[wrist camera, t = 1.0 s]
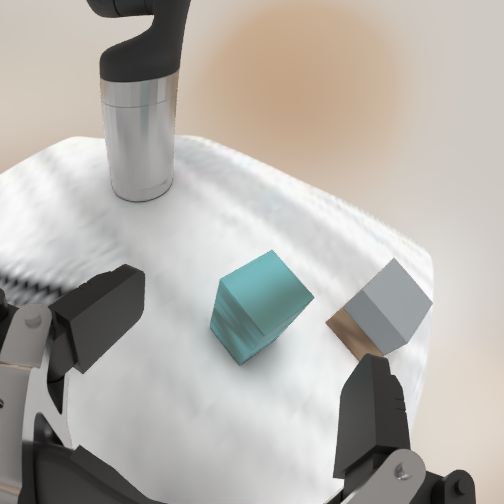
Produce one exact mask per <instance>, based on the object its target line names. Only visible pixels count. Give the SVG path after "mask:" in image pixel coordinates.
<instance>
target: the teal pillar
mask: <svg viewBox="0 0 504 504" xmlns="http://www.w3.org/2000/svg"><path fill="white" fill-rule="evenodd" d="M313 299H314V296H313V295H312V294H311V293H310V292H309V290H308V289H307V288H306V287H305V286H304V285H303V284H302V283H301V281H300V280H299V279H298V278H297V277H296V276H295V275H294V274H293V272H292V271H291V270H290V269H289V268H288V267H287V266H286V265H285V263H284V262H283V261H282V260H281V259H280V258H279V257H278V256H277V255H276V253H275V252H274V251H273V250H271V251H269V252H267V253H265V254H264V255H262V256H260V257H258V258H257V259H255V260H253V261H251V262H250V263H248V264H246V265H244V266H242V267H241V268H239V269H237V270H235V271H234V272H232V273H230V274H228V275H226V276H225V277H223V278H221V279H220V282H219V286H218V291H217V295H216V300H215V305H214V309H213V314H212V318H211V323H210V328H211V329H212V330H213V332H214V333H215V334H216V336H217V337H218V338H219V340H220V341H221V342H222V344H223V345H224V346H225V348H226V349H227V350H228V352H229V353H230V354H231V355H232V357H233V358H234V359H235V361H236V362H237V363H238V364H239V366H240V365H241V364H242V363H244V362H245V361H247V360H248V359H249V358H251V357H252V356H254V355H255V354H256V353H258V352H259V351H260V350H262V349H263V348H265V347H266V346H267V345H269V344H270V343H271V342H273V341H274V340H275V339H277V338H278V337H279V336H280V334H281V333H282V332H283V331H284V330H285V329H286V328H287V327H288V326H289V325H290V324H291V323H292V322H293V321H294V320H295V318H296V317H297V316H298V315H299V314H300V313H301V312H302V311H303V310H304V309H305V307H306V306H307V305H308V304H309V303H310V302H311V301H312V300H313Z"/></svg>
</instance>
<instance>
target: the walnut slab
mask: <svg viewBox="0 0 504 504" xmlns="http://www.w3.org/2000/svg"><path fill="white" fill-rule="evenodd" d="M363 288H364V287H363ZM363 288H362V289H363ZM362 289H361V290H362ZM361 290H360V291H361ZM360 291H359V292H360ZM359 292H358V293H359ZM358 293H357V294H358ZM357 294H356V295H357ZM356 295H355V296H356ZM355 296H354V297H355ZM354 297H353V298H354ZM353 298H352V299H353ZM352 299H351V300H352ZM345 305H346V304H345ZM345 305H344V306H345ZM344 306H343V307H344ZM343 307H342V308H341V309H340V310H339V311H338V312H337V313H336V314H335V315H333V316H332V317H331V318H330V319H329V320H328V321H327V322H326V324H327V325H328V326H329V327H330V328H331V329H332V331H333V332H334V333H335V334H336V335H337V336H338V338H339V339H340V340H341V341H342V342H343V343H344V345H345V346H346V347H347V348H348V349H349V350H350V352H351V353H352V354H353V355H354V356H355V357H356V359H357V360H358V361H359V362H360V360H361V359H362V357H363V356H364V355H365V354H366V353H370V354H373V355H377V356H381V357H383V356H384V355H383V354H382V353H381V352H380V351H379V349H378V348H377V347H376V346H375V345H374V343H373V342H372V341H371V340H370V339H369V338H368V336H367V335H366V334H365V333H364V332H363V330H362V329H361V328H360V327H359V326H358V325H357V323H356V322H355V321H354V320H353V319H352V318H351V316H350V315H349V314H348V313H347V312H346V311H345V310H344V308H343Z"/></svg>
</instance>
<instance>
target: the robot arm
mask: <svg viewBox="0 0 504 504" xmlns="http://www.w3.org/2000/svg"><path fill="white" fill-rule="evenodd" d="M87 2H88V4H89V6H90V7H91V9H92V10H93V11H94V12H95V13H96V14H97V15H99V16H101V17H107V18H118V17H128V16H140V15H154V19H153V23H152V25H151V27H150V28H149V29H148V30H146V31H145V32H143V33H142V34H140V35H138V36H136V37H134V38H132V39H129V40H127V41H124V42H122V43H119V44H116V45H115V46H112V47H110V48H108V49H107V50H106V51H104V52H103V53H102V55H101V58H100V88H101V102H102V114H103V124H104V133H105V142H106V149H107V156H108V163H109V169H110V175H111V181H112V186H113V190H114V192H115V193H116V194H117V195H118V196H119V197H121V198H123V199H126V200H129V201H147V200H151V199H154V198H156V197H158V196H160V195H162V194H163V193H165V192H166V191H167V190H168V189H169V188H170V186H171V184H172V180H173V155H174V131H175V115H176V101H177V88H178V78H179V68H180V59H181V51H182V43H183V36H184V30H185V24H186V19H187V14H188V9H189V6H190V2H191V0H87ZM144 294H145V274H144V272H143V271H141V270H139V269H136V268H134V267H132V266H130V265H127V264H124V265H122V266H120V267H119V268H117V269H115V270H114V271H112V272H111V271H109V272H106V273H102V274H98V275H96V276H95V277H93V278H91V279H90V280H88V281H87V283H83V284H82V285H80V286H79V288H76V289H74V290H73V291H71V292H70V293H68V294H67V295H65V296H64V297H62V298H61V299H59V300H58V301H56V302H55V303H53V304H52V305H50V306H49V307H46V306H44V305H42V304H37V303H33V304H27V305H25V306H23V307H21V308H17V307H15V306H12V305H10V304H8V303H7V301H6V298H5V294H4V291H3V290H2V289H1V288H0V504H166V503H162V502H158V501H154V500H151V499H149V498H147V497H146V496H144V495H143V494H142V493H141V492H140V491H138V490H137V489H136V488H135V487H134V486H133V485H131V484H130V483H129V482H128V481H127V480H126V479H125V478H124V477H123V476H121V475H120V474H119V473H118V472H117V471H116V470H115V469H114V468H113V467H111V466H110V465H108V464H107V463H105V462H103V461H102V460H100V459H99V458H97V457H96V456H95V455H93V454H92V453H90V452H89V451H87V450H86V449H85V448H83V447H82V446H81V445H79V446H78V447H77V449H76V450H73V449H72V441H71V436H70V431H69V428H68V424H67V399H68V382H69V373H68V371H69V370H70V369H71V368H72V367H74V368H75V369H77V370H78V371H79V372H81V373H82V374H84V373H85V372H86V371H87V370H88V369H89V368H90V367H91V366H92V365H93V364H94V363H95V362H96V361H97V360H98V359H99V358H100V357H101V356H102V355H103V354H104V353H105V352H106V351H107V350H108V349H109V348H110V347H111V346H112V345H113V344H114V343H115V342H117V341H118V340H119V339H120V338H121V337H122V336H123V335H124V334H125V333H126V332H127V331H128V330H129V329H130V328H131V327H132V326H133V325H134V324H135V323H136V322H137V321H138V320H139V319H140V317H141V315H142V313H143V310H144ZM405 410H406V408H405V402H404V395H403V389H402V386H401V385H400V383H399V381H398V379H397V378H396V376H395V375H391V373H390V367H389V361H388V359H387V358H384V357H381V356H377V355H373V354H370V353H366V354H365V355H364V356H363V357H362V359H361V360H360V362H359V363H358V365H357V366H356V368H355V369H354V371H353V372H352V374H351V375H350V377H349V378H348V380H347V381H346V383H345V384H344V386H343V389H342V392H341V396H340V408H339V423H338V435H337V446H336V455H335V464H334V472H333V478H338V479H345V480H344V486H343V487H342V488H341V489H339V490H338V491H337V492H336V493H335V494H334V495H333V496H331V497H330V498H329V499H328V500H327V501H326V502H325V503H323V504H476V498H475V485H474V481H473V479H472V477H471V476H470V475H469V474H468V473H467V472H466V471H464V470H455V471H453V472H452V473H450V474H449V475H447V476H446V477H442V476H440V475H437V474H434V473H431V472H428V471H426V469H425V464H424V462H423V460H422V459H421V457H420V456H419V455H418V454H417V453H415V452H413V451H411V449H410V439H409V430H408V422H407V414H406V412H405Z"/></svg>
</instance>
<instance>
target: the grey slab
mask: <svg viewBox="0 0 504 504" xmlns="http://www.w3.org/2000/svg"><path fill="white" fill-rule="evenodd" d="M432 304H433V303H432V301H431V300H430V299H429V298H428V297H427V295H426V294H425V293H424V292H423V290H422V289H421V288H420V287H419V286H418V285H417V283H416V282H415V281H414V280H413V279H412V277H411V276H410V275H409V274H408V273H407V272H406V271H405V269H404V268H403V267H402V266H401V265H400V264H399V263H398V262H397V260H396V259H395V258H393V259H392V260H391V261H390V262H389V263H388V264H387V265H386V266H385V267H384V268H383V269H382V270H381V271H380V272H379V273H378V274H377V275H376V276H375V277H374V278H373V279H372V280H371V281H370V282H369V283H368V284H367V285H366V286H365V287H364V288H363V289H362V290H361V291H360V292H359V293H358V294H357V295H356V296H355V297H354V298H353V299H352V300H350V301H349V302H348V303H347V304H346V305H345V306H344V307H343V308H344V310H345V311H346V312H347V313H348V314H349V315H350V316H351V318H352V319H353V320H354V321H355V322H356V323H357V325H358V326H359V327H360V328H361V329H362V330H363V332H364V333H365V334H366V335H367V336H368V338H369V339H370V340H371V341H372V342H373V343H374V345H375V346H376V347H377V348H378V349H379V351H380V352H381V353H382V354H383V355H386V354H388V353H390V352H392V351H394V350H396V349H398V348H399V347H401V346H403V345H405V344H407V343H408V342H409V340H410V339H411V337H412V336H413V334H414V333H415V331H416V330H417V328H418V327H419V325H420V324H421V322H422V320H423V319H424V317H425V315H426V314H427V312H428V311H429V309H430V307H431V305H432Z"/></svg>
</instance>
